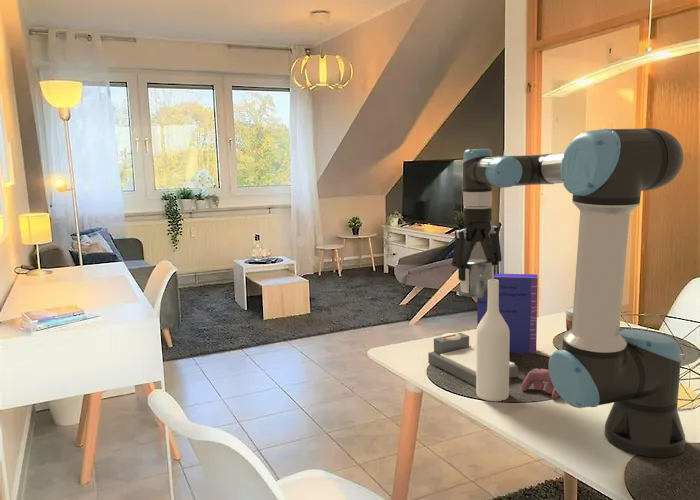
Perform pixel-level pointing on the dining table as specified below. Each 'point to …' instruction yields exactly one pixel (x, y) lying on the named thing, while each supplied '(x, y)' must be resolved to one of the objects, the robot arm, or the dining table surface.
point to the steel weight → (478, 277)
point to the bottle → (492, 350)
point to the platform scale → (459, 357)
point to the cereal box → (516, 310)
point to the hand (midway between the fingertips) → (477, 289)
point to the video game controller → (540, 382)
